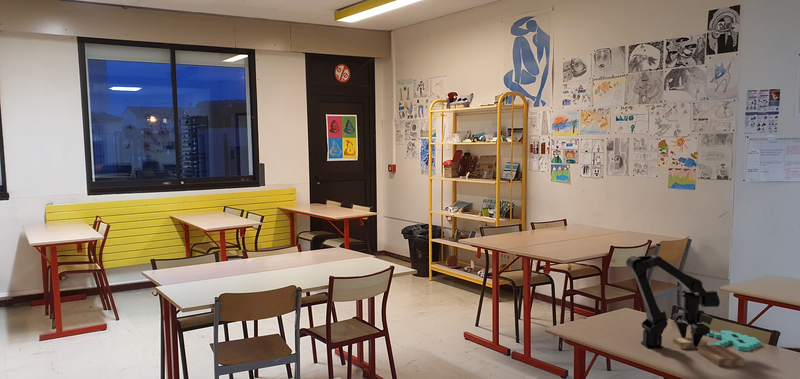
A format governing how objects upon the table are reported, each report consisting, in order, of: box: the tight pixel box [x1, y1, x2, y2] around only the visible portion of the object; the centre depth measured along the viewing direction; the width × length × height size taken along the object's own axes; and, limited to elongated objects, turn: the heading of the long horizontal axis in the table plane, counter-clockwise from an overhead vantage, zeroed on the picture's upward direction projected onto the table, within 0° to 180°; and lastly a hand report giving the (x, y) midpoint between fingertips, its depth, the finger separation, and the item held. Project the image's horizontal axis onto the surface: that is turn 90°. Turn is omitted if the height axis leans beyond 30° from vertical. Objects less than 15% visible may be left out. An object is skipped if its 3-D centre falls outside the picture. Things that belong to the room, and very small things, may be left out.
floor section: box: [697, 344, 745, 367], centre depth 219 cm, size 10×14×3 cm
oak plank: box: [672, 337, 708, 350], centre depth 233 cm, size 12×5×3 cm, turn 98°
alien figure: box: [705, 330, 762, 352], centre depth 238 cm, size 20×2×20 cm
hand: (689, 342), depth 233 cm, fingers open, 9 cm apart
